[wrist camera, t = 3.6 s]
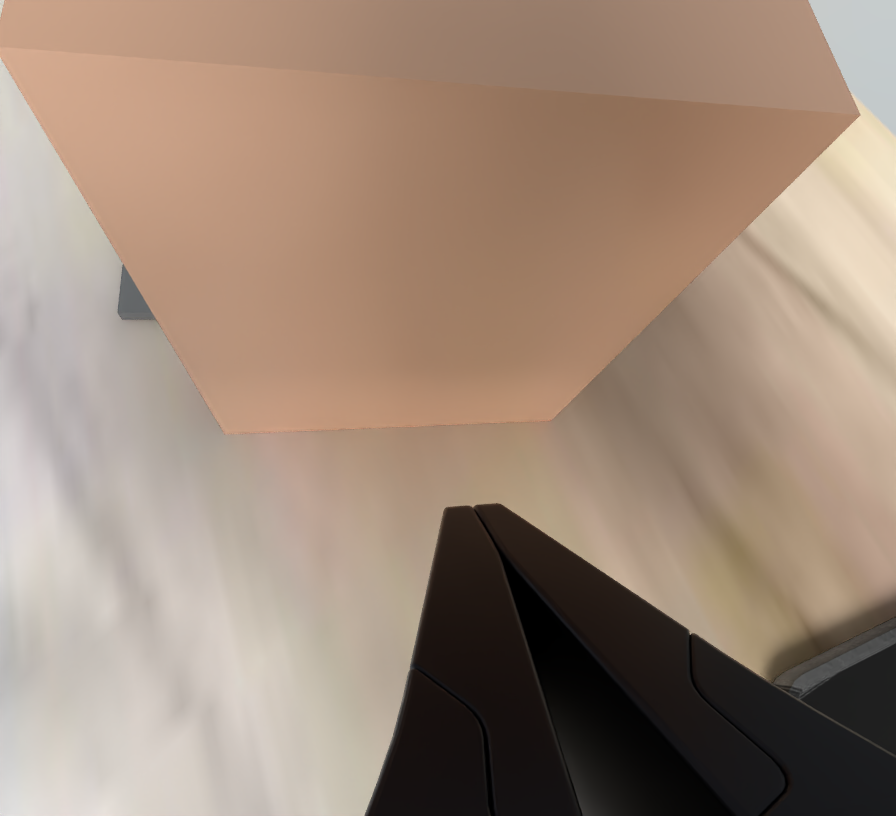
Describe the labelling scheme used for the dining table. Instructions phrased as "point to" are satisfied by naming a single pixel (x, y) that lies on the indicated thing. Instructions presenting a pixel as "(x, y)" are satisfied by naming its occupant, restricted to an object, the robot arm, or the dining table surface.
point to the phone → (853, 684)
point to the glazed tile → (419, 182)
